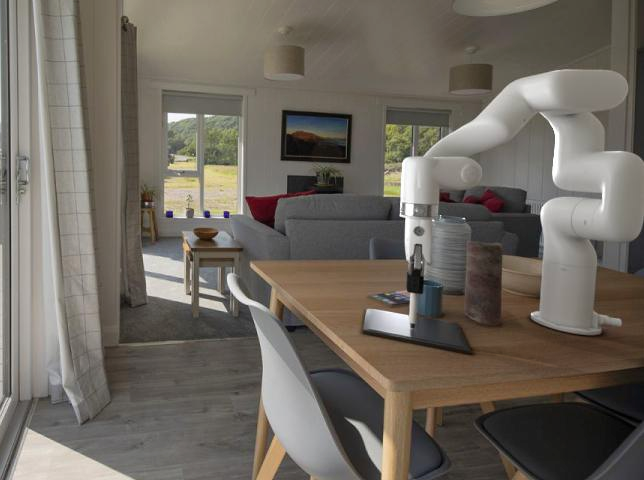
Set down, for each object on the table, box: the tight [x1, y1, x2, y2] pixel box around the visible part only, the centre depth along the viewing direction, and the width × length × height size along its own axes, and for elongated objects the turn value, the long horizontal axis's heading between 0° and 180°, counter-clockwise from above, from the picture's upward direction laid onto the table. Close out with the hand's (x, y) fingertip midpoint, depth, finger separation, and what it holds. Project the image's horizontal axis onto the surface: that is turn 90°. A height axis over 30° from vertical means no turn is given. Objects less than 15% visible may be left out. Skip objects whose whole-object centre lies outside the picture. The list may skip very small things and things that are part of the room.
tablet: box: [362, 307, 472, 355], centre depth 91 cm, size 20×16×1 cm
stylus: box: [408, 293, 418, 328], centre depth 89 cm, size 2×2×14 cm
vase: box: [423, 215, 472, 296], centre depth 122 cm, size 12×12×23 cm
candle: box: [464, 240, 504, 326], centre depth 97 cm, size 8×7×20 cm
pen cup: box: [417, 280, 444, 317], centre depth 102 cm, size 7×7×8 cm
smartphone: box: [368, 289, 410, 306], centre depth 112 cm, size 8×15×1 cm, turn 111°
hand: (414, 291), depth 89 cm, fingers closed on stylus, 1 cm apart
